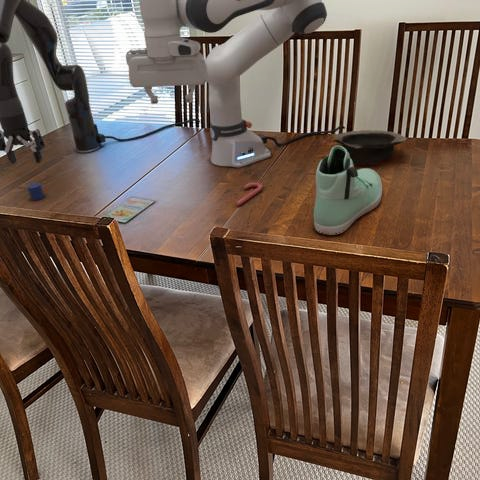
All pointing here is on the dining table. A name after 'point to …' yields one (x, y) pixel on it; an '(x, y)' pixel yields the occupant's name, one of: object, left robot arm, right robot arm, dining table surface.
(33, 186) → the can
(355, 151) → the stone bowl
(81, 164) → the dining table surface
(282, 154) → the dining table surface
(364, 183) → the sneaker
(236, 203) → the candy cane
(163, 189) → the dining table surface
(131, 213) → the baking ingredient package
